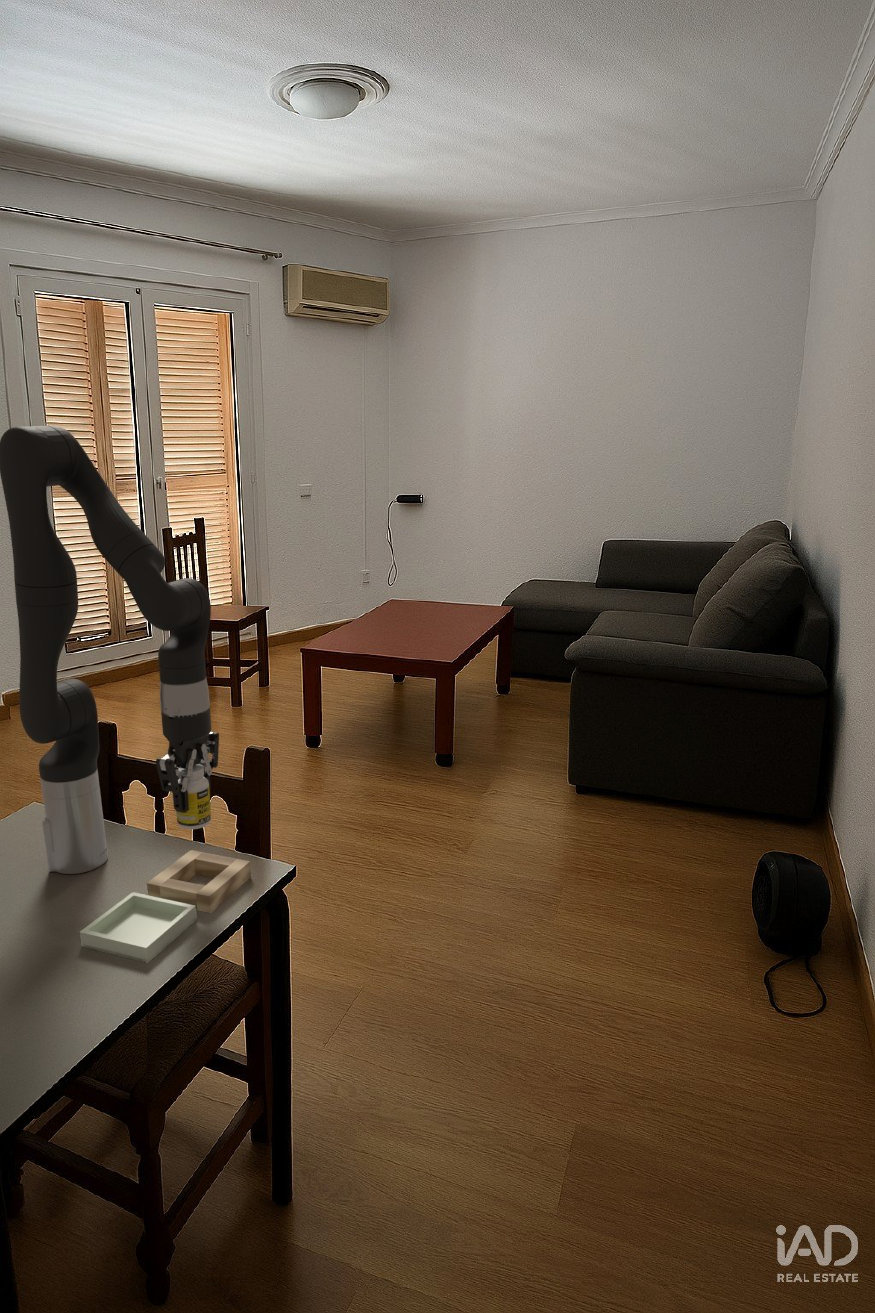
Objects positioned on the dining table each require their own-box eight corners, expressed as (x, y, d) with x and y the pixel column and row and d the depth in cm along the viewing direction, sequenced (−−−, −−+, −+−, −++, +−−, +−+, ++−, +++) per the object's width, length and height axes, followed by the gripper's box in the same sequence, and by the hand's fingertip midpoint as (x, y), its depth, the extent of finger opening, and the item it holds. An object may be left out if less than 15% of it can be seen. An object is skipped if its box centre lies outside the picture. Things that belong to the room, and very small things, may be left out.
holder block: (210, 913, 140) (209, 896, 139) (148, 899, 144) (146, 883, 143) (251, 877, 151) (250, 861, 150) (192, 865, 155) (190, 850, 154)
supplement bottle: (202, 832, 141) (198, 775, 139) (171, 828, 142) (166, 772, 140) (217, 817, 146) (213, 762, 144) (187, 814, 147) (182, 760, 145)
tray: (147, 963, 127) (146, 948, 127) (81, 946, 131) (79, 932, 131) (196, 919, 138) (195, 905, 138) (134, 905, 142) (132, 892, 142)
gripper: (192, 690, 147) (199, 783, 151) (136, 717, 134) (145, 818, 138) (231, 695, 144) (237, 790, 149) (177, 723, 131) (185, 826, 136)
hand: (193, 803), depth 143 cm, fingers closed on supplement bottle, 5 cm apart
